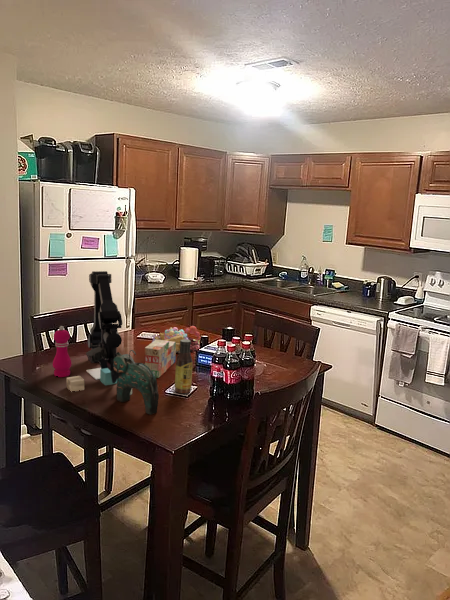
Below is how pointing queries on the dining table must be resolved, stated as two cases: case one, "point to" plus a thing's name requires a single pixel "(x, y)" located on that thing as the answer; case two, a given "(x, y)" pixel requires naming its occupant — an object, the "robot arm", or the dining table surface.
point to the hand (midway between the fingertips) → (108, 378)
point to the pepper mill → (61, 353)
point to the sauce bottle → (183, 368)
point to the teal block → (106, 376)
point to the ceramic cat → (136, 381)
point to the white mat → (94, 373)
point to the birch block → (75, 383)
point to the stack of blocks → (160, 356)
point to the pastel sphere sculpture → (180, 337)
